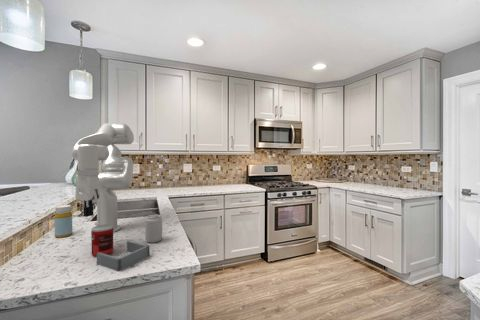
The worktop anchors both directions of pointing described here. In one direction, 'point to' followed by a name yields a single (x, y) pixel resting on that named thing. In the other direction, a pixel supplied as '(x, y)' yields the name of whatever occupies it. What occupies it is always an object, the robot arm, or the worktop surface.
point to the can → (153, 228)
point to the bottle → (63, 221)
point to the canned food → (102, 239)
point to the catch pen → (116, 263)
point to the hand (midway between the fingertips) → (88, 215)
